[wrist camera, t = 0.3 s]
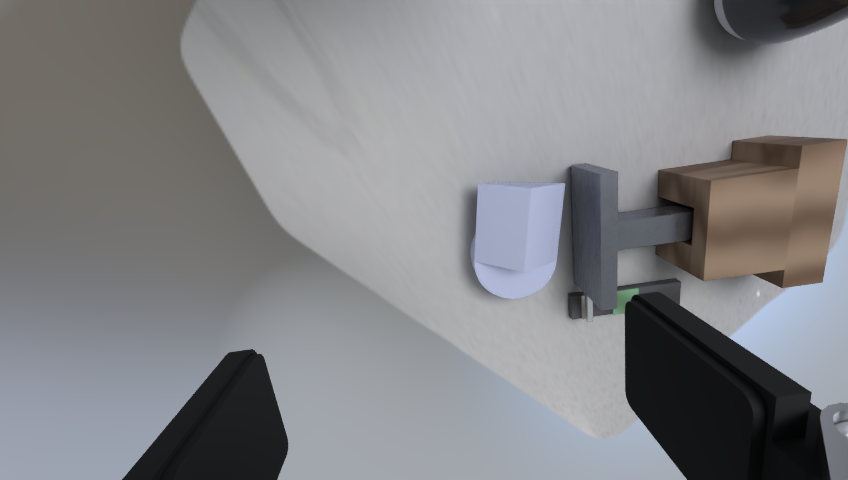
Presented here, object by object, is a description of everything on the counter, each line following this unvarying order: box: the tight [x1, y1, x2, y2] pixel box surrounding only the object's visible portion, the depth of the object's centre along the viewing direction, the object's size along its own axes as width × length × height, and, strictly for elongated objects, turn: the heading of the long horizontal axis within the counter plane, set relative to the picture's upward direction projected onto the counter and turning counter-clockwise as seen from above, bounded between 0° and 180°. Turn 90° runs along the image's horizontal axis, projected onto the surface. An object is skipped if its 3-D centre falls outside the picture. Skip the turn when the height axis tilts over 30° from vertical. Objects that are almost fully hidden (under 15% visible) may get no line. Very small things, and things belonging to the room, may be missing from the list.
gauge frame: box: [568, 136, 847, 319], centre depth 42 cm, size 18×22×8 cm
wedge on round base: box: [470, 183, 565, 299], centre depth 42 cm, size 9×7×13 cm
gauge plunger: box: [571, 163, 694, 322], centre depth 42 cm, size 18×10×7 cm, turn 8°
